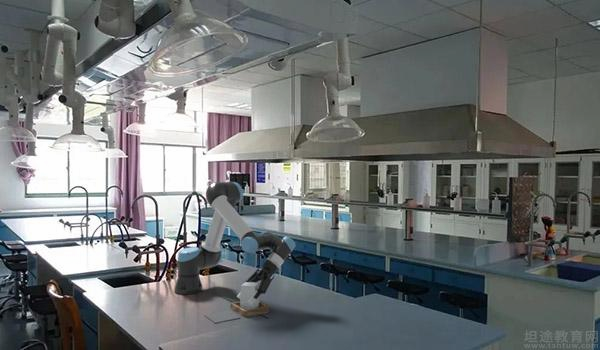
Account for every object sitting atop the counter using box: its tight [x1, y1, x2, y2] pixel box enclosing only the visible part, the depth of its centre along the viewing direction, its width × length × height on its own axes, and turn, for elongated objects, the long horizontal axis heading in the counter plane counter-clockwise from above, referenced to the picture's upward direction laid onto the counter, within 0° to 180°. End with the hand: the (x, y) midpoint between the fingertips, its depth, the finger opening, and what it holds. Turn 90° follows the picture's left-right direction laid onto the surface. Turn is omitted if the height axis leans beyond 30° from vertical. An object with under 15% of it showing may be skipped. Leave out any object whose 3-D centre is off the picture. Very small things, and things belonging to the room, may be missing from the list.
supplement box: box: [239, 281, 260, 310], centre depth 196 cm, size 7×7×13 cm
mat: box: [203, 310, 241, 324], centre depth 186 cm, size 12×12×1 cm
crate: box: [229, 301, 270, 318], centre depth 196 cm, size 15×13×3 cm
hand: (244, 300), depth 195 cm, fingers closed on supplement box, 10 cm apart
